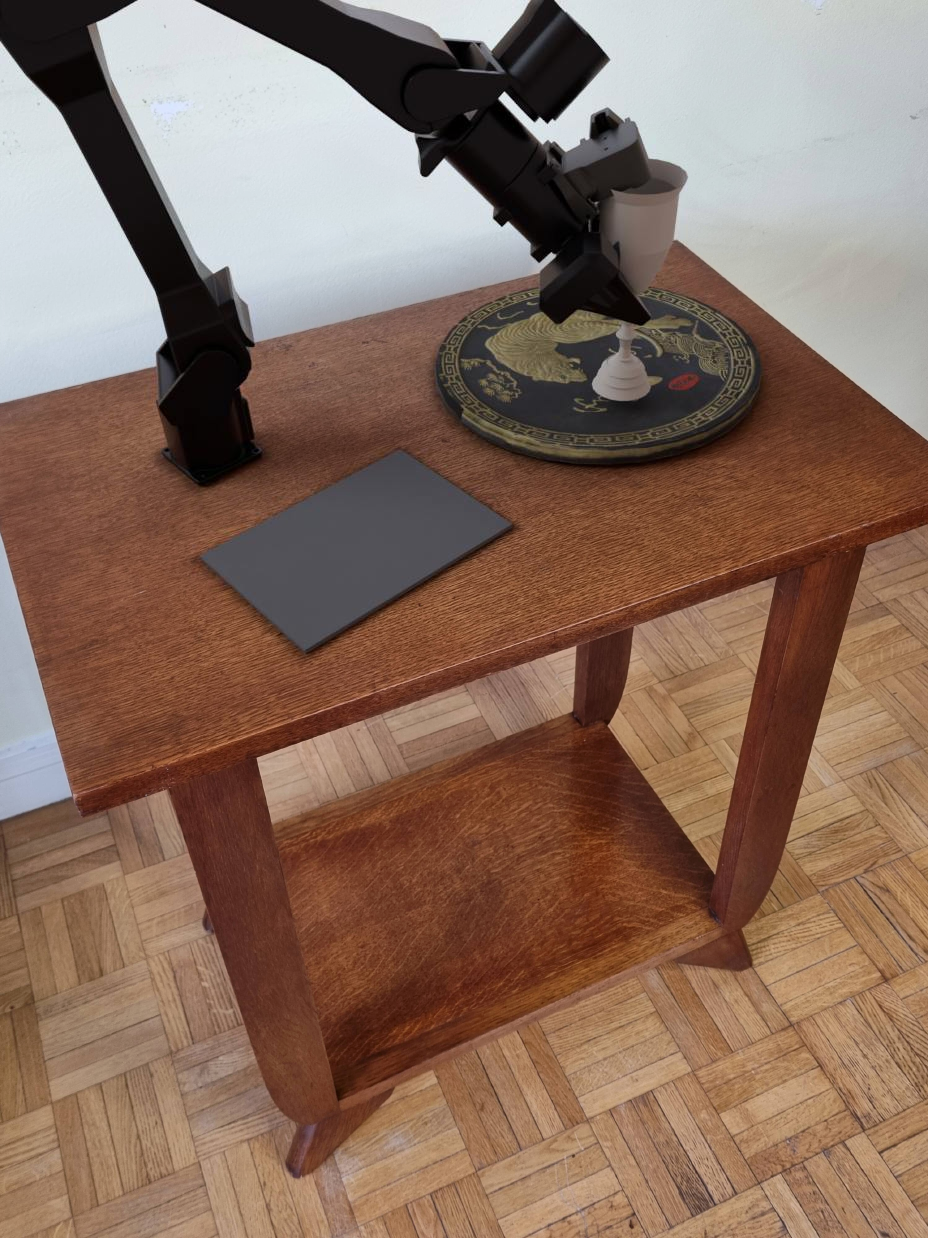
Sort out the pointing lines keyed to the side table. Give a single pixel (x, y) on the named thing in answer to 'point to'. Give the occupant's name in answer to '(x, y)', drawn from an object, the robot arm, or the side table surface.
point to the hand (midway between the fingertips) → (644, 304)
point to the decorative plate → (568, 363)
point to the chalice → (638, 263)
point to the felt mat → (353, 548)
